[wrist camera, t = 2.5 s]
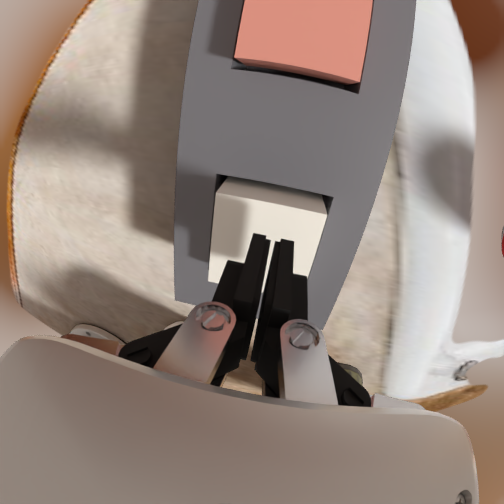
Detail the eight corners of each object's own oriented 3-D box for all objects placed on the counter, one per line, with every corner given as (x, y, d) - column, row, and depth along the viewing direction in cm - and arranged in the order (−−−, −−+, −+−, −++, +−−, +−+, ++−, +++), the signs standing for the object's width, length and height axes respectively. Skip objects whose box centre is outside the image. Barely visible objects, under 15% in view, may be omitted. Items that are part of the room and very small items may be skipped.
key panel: (318, 276, 23) (322, 329, 18) (199, 253, 23) (174, 300, 18) (385, -4, 11) (417, -33, 5) (238, -32, 11) (218, -71, 6)
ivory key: (300, 268, 17) (300, 299, 15) (220, 252, 17) (207, 281, 15) (321, 192, 15) (327, 214, 12) (229, 174, 15) (215, 192, 12)
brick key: (345, 85, 11) (359, 82, 9) (245, 65, 11) (234, 57, 9) (359, 4, 9) (374, -15, 6) (260, -16, 9) (253, -39, 6)
